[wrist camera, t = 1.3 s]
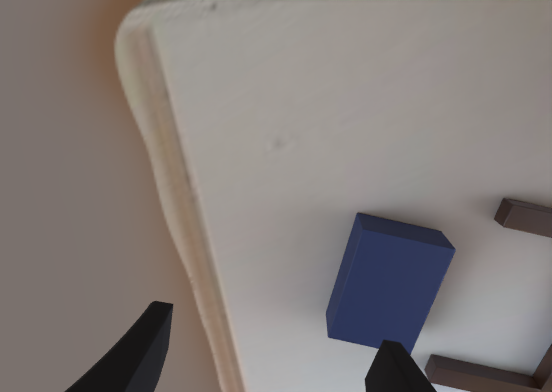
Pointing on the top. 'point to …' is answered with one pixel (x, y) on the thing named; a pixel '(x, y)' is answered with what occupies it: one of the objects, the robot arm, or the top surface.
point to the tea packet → (387, 282)
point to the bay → (484, 380)
